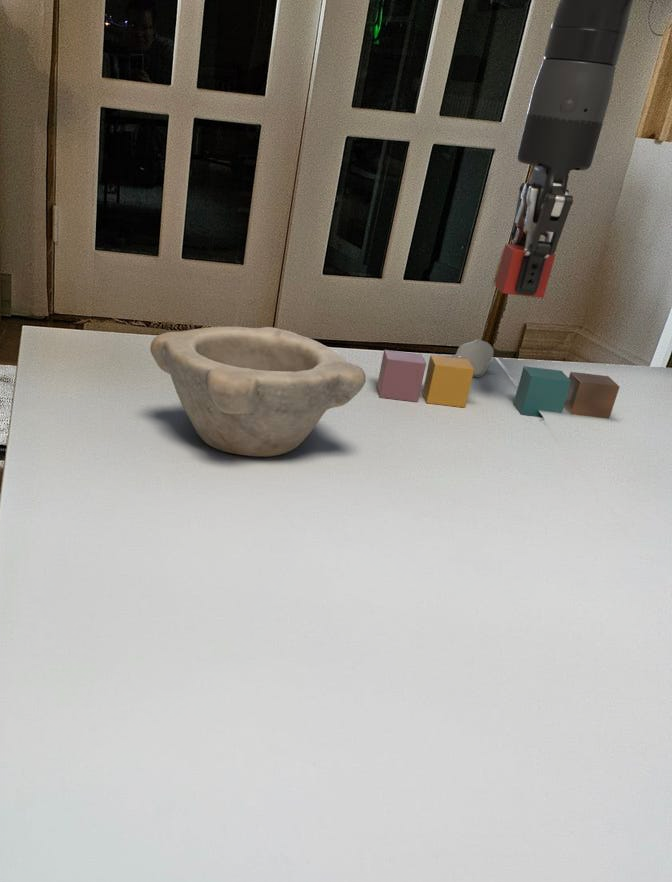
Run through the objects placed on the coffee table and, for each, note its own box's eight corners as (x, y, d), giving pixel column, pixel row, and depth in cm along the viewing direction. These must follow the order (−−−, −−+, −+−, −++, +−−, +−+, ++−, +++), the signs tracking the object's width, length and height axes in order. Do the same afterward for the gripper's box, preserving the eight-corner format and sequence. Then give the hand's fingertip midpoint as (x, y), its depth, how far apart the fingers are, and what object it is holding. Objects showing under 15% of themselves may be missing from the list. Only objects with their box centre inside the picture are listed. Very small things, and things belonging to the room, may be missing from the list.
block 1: (413, 391, 114) (421, 354, 111) (417, 402, 110) (426, 363, 108) (376, 387, 114) (384, 349, 112) (379, 397, 110) (387, 358, 108)
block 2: (459, 397, 113) (468, 359, 111) (465, 407, 110) (474, 369, 107) (422, 392, 114) (430, 355, 111) (426, 403, 110) (435, 364, 107)
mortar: (205, 480, 82) (217, 376, 77) (134, 417, 95) (140, 324, 90) (365, 467, 89) (384, 371, 84) (278, 410, 102) (291, 323, 97)
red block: (534, 290, 107) (546, 248, 104) (543, 298, 103) (555, 254, 100) (494, 285, 107) (505, 243, 104) (502, 293, 103) (513, 249, 100)
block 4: (596, 413, 113) (608, 376, 111) (607, 424, 109) (620, 386, 107) (559, 408, 113) (570, 371, 111) (568, 420, 109) (580, 381, 107)
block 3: (550, 407, 113) (561, 370, 111) (559, 419, 109) (571, 380, 107) (513, 403, 113) (523, 365, 111) (521, 414, 109) (531, 376, 107)
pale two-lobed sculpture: (457, 370, 129) (496, 365, 127) (448, 382, 123) (489, 377, 121) (454, 338, 128) (494, 333, 126) (446, 348, 121) (487, 343, 119)
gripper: (623, 121, 90) (569, 306, 98) (584, 117, 102) (539, 282, 111) (544, 112, 90) (497, 298, 99) (514, 109, 102) (475, 274, 111)
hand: (519, 288), depth 105 cm, fingers closed on red block, 4 cm apart
